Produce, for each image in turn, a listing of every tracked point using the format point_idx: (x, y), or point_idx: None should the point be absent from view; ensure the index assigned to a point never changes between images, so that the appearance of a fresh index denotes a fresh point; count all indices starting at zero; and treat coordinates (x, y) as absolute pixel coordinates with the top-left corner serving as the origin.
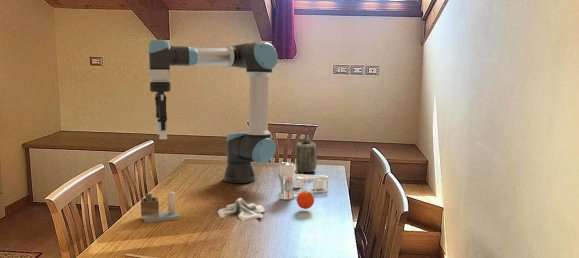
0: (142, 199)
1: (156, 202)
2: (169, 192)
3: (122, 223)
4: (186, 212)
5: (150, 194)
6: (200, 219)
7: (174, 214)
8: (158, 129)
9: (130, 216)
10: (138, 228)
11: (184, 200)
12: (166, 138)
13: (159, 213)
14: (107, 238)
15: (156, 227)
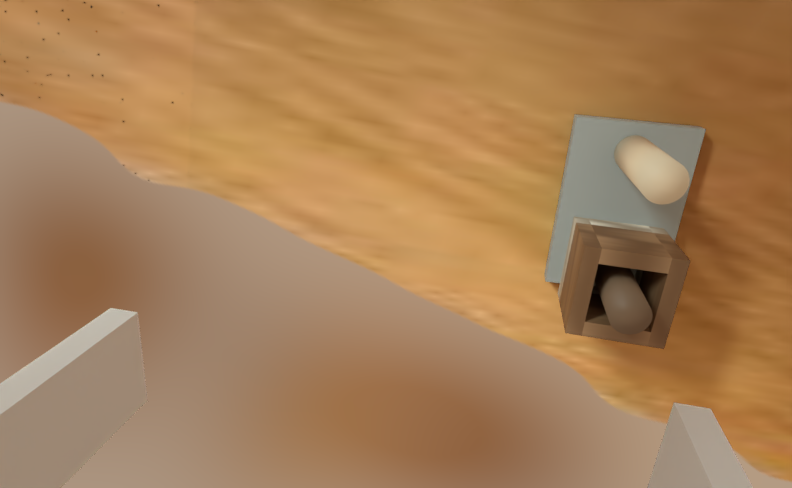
0: (598, 329)
1: (684, 268)
2: (655, 193)
3: (608, 370)
4: (589, 55)
5: (640, 308)
6: (779, 4)
7: (659, 143)
8: (92, 433)
9: (516, 323)
10: (728, 327)
11: (333, 13)
12: (713, 424)
13: (594, 212)
14: (787, 451)
15: (767, 255)
